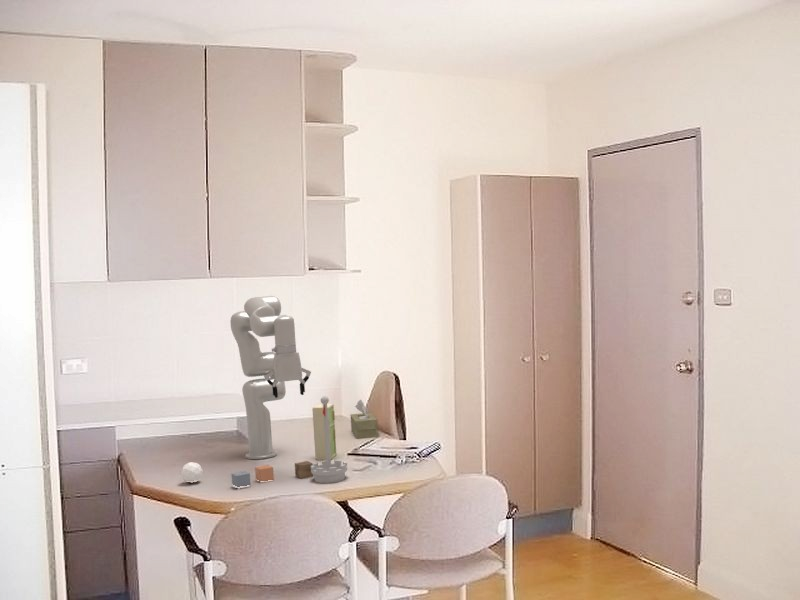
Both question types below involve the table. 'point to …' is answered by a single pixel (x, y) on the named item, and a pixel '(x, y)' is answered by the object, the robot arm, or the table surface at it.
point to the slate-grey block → (241, 478)
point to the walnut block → (303, 470)
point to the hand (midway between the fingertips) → (289, 395)
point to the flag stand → (328, 457)
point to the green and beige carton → (320, 432)
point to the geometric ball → (191, 472)
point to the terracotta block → (264, 473)
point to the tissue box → (363, 423)
